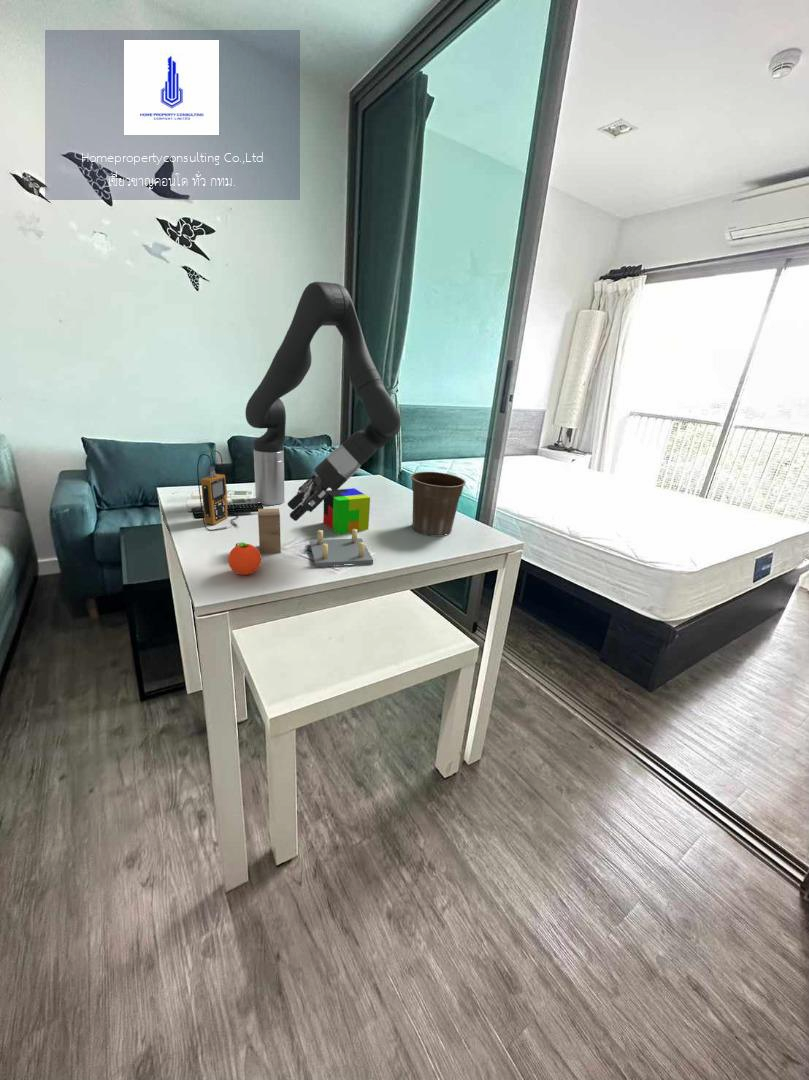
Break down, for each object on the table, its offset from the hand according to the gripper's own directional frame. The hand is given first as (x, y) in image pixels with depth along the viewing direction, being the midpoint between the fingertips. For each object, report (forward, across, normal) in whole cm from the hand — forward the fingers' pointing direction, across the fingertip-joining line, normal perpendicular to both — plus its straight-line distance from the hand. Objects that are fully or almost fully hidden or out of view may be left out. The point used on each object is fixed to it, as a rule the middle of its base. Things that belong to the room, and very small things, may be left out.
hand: (291, 512), depth 109 cm
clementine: (+15, +12, -1) cm, 19 cm away
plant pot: (-23, -10, +37) cm, 45 cm away
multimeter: (+18, -20, -4) cm, 28 cm away
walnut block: (+11, 0, +3) cm, 11 cm away
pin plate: (-1, +5, +15) cm, 16 cm away
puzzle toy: (-5, -15, +19) cm, 25 cm away
